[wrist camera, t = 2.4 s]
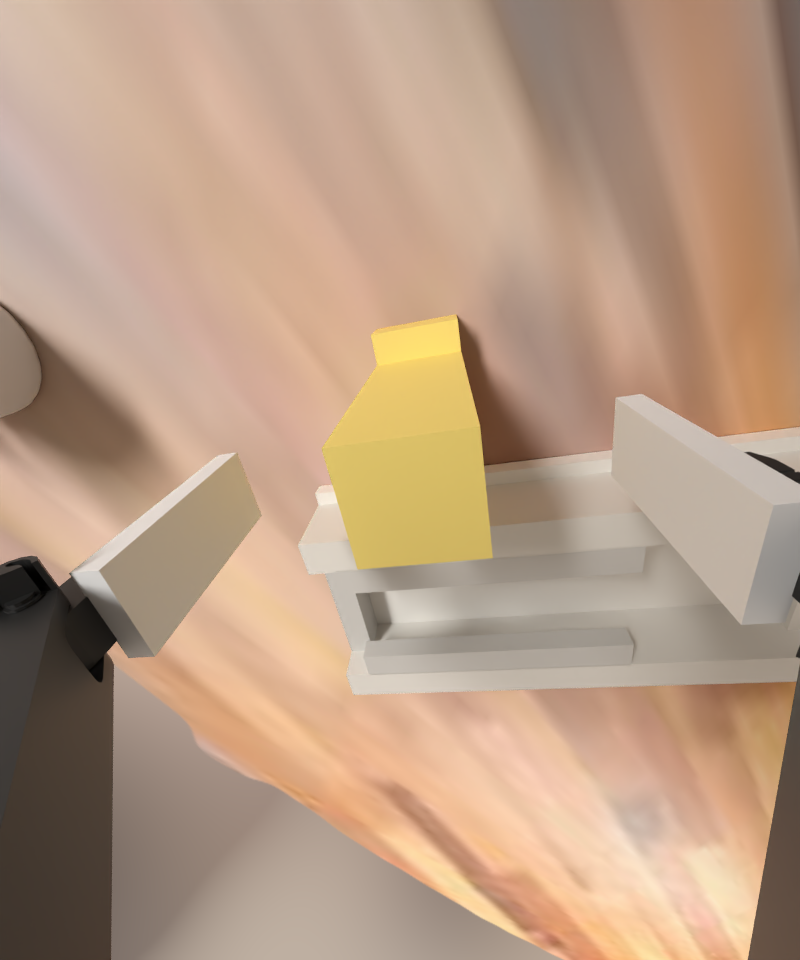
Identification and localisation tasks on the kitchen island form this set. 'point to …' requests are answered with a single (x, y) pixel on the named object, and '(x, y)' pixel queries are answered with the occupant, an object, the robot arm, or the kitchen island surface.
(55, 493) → the kitchen island surface
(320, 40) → the kitchen island surface
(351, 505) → the yellow juice carton
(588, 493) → the rail
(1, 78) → the kitchen island surface
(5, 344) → the cup
